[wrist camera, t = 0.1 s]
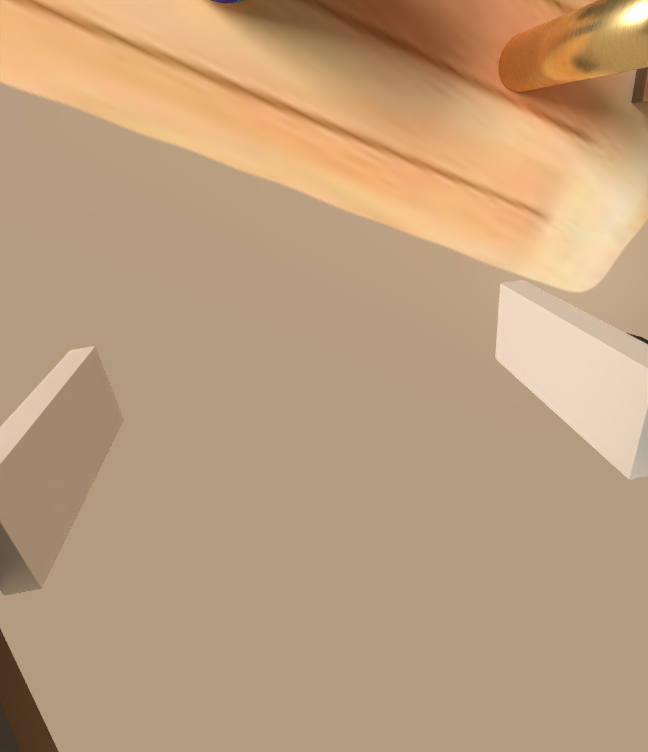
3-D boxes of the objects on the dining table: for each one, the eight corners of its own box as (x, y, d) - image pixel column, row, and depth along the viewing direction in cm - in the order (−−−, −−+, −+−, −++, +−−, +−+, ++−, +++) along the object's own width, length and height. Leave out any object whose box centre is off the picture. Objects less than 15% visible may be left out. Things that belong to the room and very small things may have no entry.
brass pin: (500, 35, 35) (644, -29, 22) (549, 29, 36) (720, -39, 22) (497, 95, 37) (628, 68, 24) (544, 88, 38) (699, 58, 24)
